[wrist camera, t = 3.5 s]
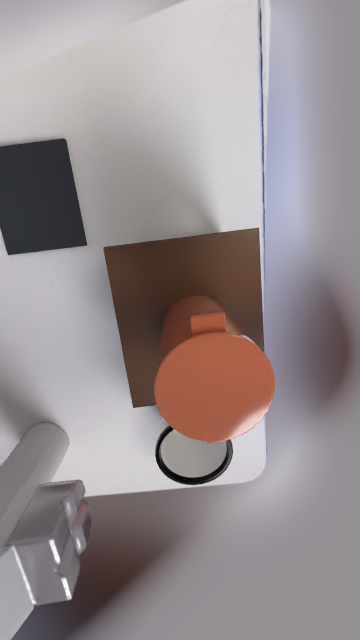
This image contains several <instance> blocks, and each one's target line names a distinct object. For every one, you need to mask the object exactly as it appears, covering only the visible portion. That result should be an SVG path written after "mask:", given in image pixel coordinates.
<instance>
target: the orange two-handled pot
mask: <svg viewBox="0 0 360 640" xmlns="http://www.w3.org/2000/svg"><path fill="white" fill-rule="evenodd" d="M274 391H275V378H274V372H273V368H272V366H271V364H270V361H269V360H268V358H267V356H266V355H265V354H264V352H263V351H262V350H261V349H260V348H259V347H258V346H257V344H256V343H255V342H254V341H253V340H252V339H251V338H250V337H249V336H248V334H247V333H246V332H245V331H244V330H243V329H242V328H241V327H240V326H239V324H238V323H237V322H236V321H235V320H234V319H233V318H232V317H231V315H230V314H229V313H228V312H227V311H226V310H225V309H224V308H223V307H222V306H221V305H220V304H219V303H218V302H216V301H215V300H213V299H211V298H208V297H204V296H190V297H186V298H183V299H181V300H179V301H177V302H176V303H175V304H173V305H172V306H171V307H170V308H169V310H168V311H167V312H166V314H165V316H164V319H163V321H162V327H161V335H160V343H159V351H158V360H157V368H156V376H155V386H154V393H155V400H156V404H157V407H158V409H159V411H160V413H161V415H162V417H163V418H164V419H165V421H166V422H167V423H168V424H169V425H170V426H171V427H172V428H173V429H175V430H176V431H177V432H179V433H180V434H182V435H184V436H186V437H189V438H191V439H195V440H199V441H205V442H207V444H210V443H218V442H226V441H227V440H229V439H232V438H235V437H238V436H240V435H242V434H244V433H246V432H248V431H249V430H250V429H252V428H253V427H254V426H255V425H257V424H258V423H259V422H260V421H261V419H262V418H263V417H264V416H265V414H266V412H267V411H268V409H269V407H270V405H271V403H272V400H273V396H274Z"/></svg>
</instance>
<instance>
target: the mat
mask: <svg viewBox="0 0 360 640" xmlns="http://www.w3.org/2000/svg"><path fill="white" fill-rule="evenodd" d="M0 228H1V231H2V235H3V239H4V242H5V246H6V250H7V253H8V255H13V254H21V253H29V252H37V251H45V250H53V249H61V248H69V247H77V246H85V245H87V242H86V237H85V232H84V227H83V222H82V217H81V212H80V208H79V203H78V198H77V193H76V188H75V183H74V178H73V173H72V168H71V163H70V158H69V153H68V148H67V143H66V140H65V139H57V140H49V141H41V142H33V143H25V144H17V145H9V146H1V147H0Z"/></svg>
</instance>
